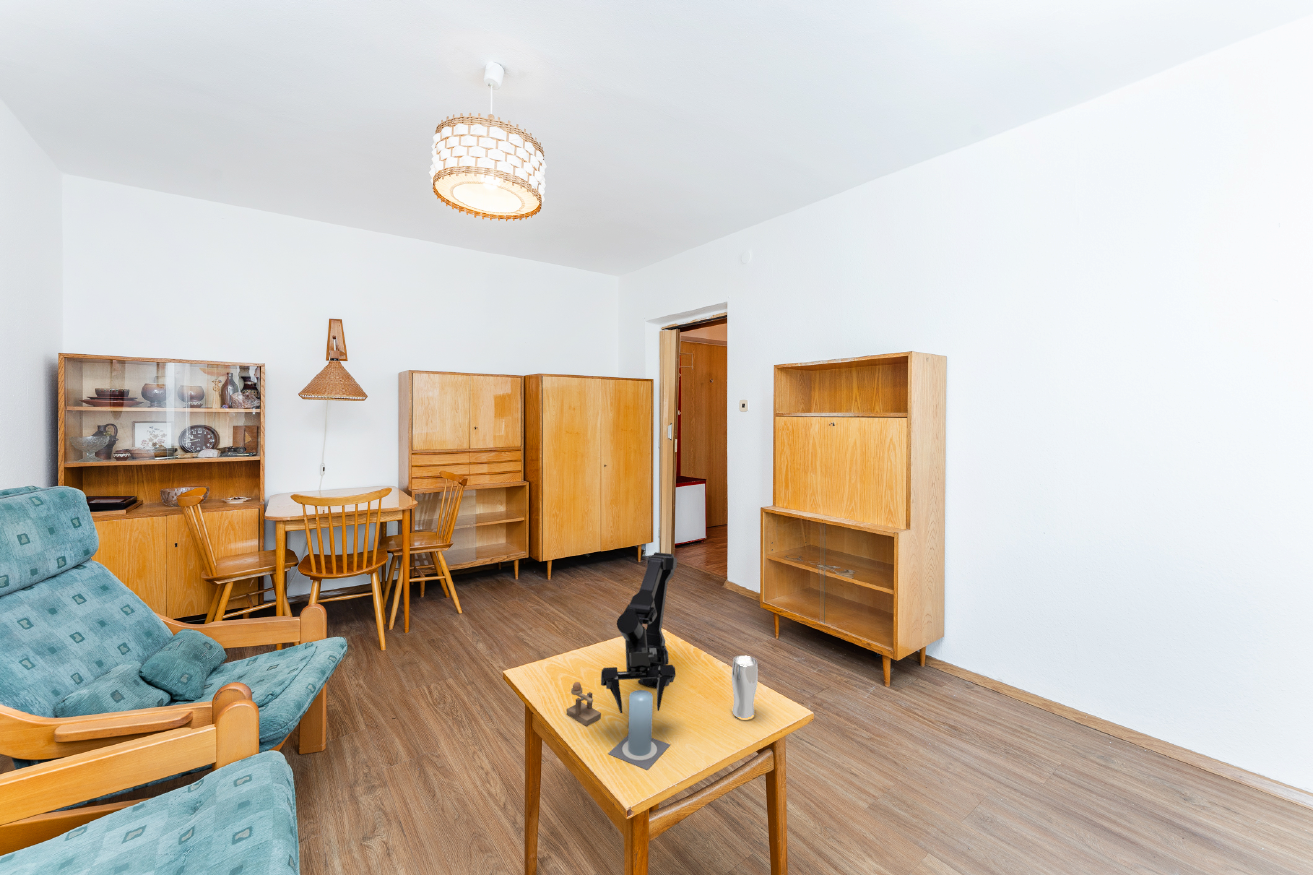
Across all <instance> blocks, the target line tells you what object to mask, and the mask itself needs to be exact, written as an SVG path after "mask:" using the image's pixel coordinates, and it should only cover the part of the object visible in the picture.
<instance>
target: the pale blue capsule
mask: <svg viewBox="0 0 1313 875" xmlns="http://www.w3.org/2000/svg"><path fill="white" fill-rule="evenodd" d="M653 697H654V696H653V694H652V693H651V692H649V691H648V690H643V689H638V690H634V691H632V692H631V693H630V694H629V697H628V699H629V700H628V701H629V702H628V704H629V705H628V707H629V708H628V732H627V733H628V734H627V735H628V751H629V752H630V753H631V754H633V755H636V756H644V755H647V754H648V753H650V751H651V739H652V738H653V737H652V736H653V735H652V734H653V732H652V730H653Z"/></svg>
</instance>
